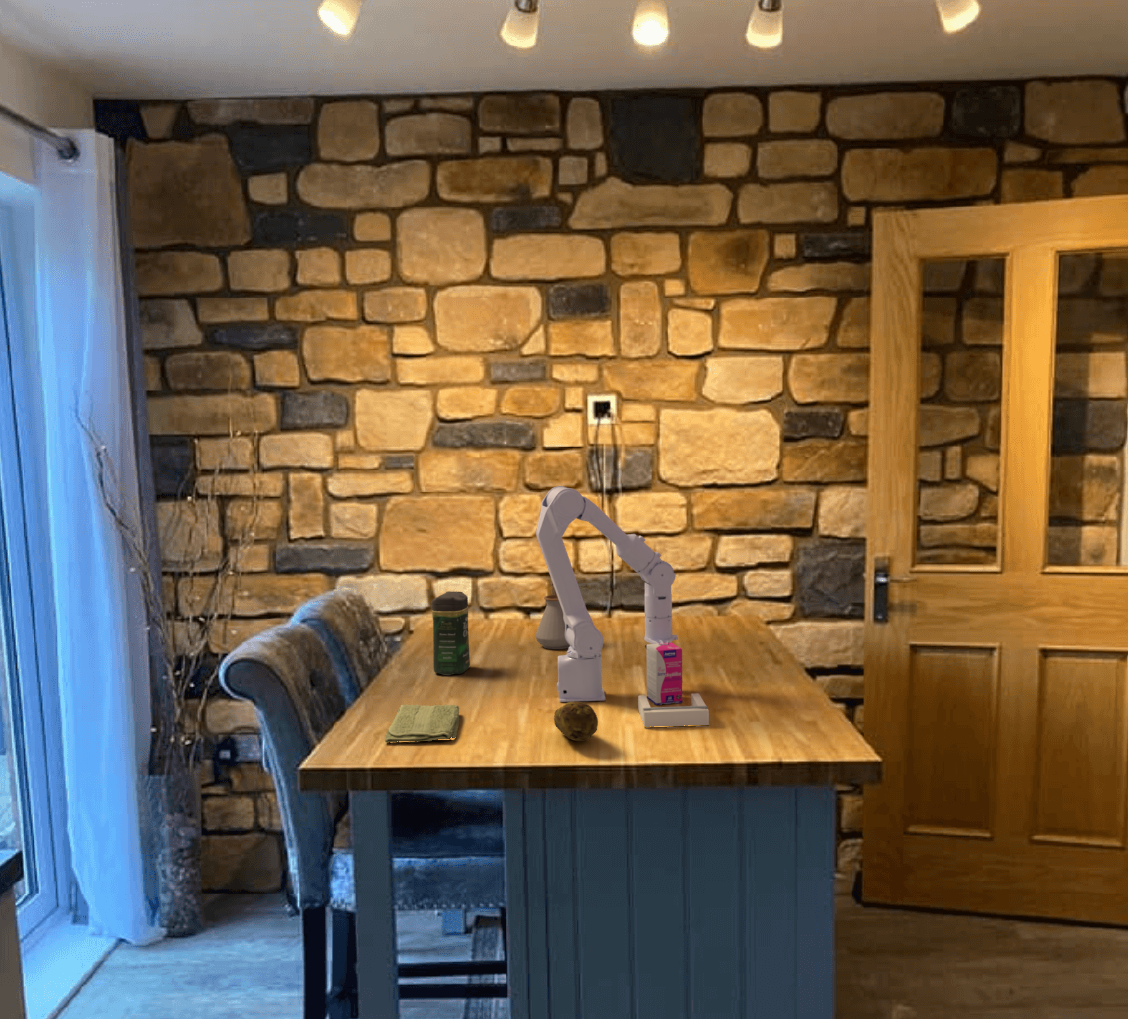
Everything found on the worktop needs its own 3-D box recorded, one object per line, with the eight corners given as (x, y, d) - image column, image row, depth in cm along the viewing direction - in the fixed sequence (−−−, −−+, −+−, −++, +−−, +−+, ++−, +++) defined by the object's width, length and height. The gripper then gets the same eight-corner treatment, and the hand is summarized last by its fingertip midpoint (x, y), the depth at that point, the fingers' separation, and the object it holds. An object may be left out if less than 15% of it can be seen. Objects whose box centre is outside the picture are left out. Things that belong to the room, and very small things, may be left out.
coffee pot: (581, 650, 237) (579, 591, 235) (535, 651, 236) (534, 593, 235) (576, 632, 258) (574, 578, 257) (534, 633, 257) (532, 579, 256)
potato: (600, 729, 173) (599, 687, 173) (597, 753, 161) (596, 708, 160) (555, 730, 174) (554, 687, 173) (549, 753, 161) (548, 708, 161)
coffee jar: (463, 676, 214) (460, 596, 213) (430, 675, 215) (426, 596, 214) (474, 665, 224) (471, 589, 222) (442, 665, 225) (439, 589, 223)
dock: (644, 728, 174) (644, 711, 173) (638, 710, 185) (638, 694, 185) (709, 725, 174) (708, 708, 174) (698, 708, 185) (698, 692, 185)
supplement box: (656, 706, 187) (655, 650, 186) (646, 698, 193) (645, 643, 192) (683, 703, 189) (682, 647, 188) (672, 695, 194) (671, 641, 193)
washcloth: (382, 748, 168) (382, 730, 168) (398, 718, 185) (397, 702, 185) (455, 745, 168) (455, 728, 168) (464, 715, 186) (463, 700, 185)
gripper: (682, 622, 190) (683, 687, 191) (672, 608, 205) (673, 669, 206) (647, 623, 190) (649, 688, 191) (640, 609, 204) (641, 670, 206)
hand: (659, 678), depth 198 cm, fingers closed
